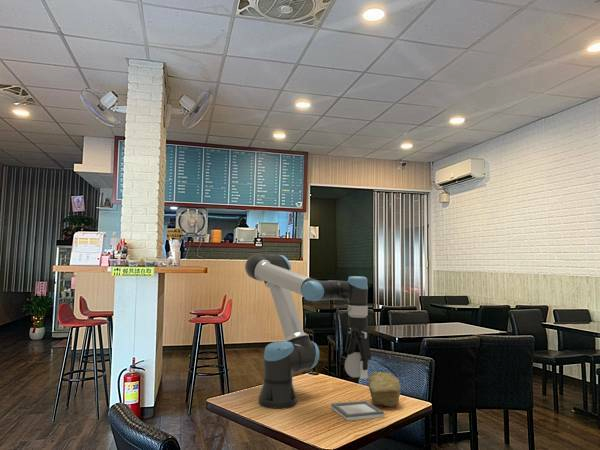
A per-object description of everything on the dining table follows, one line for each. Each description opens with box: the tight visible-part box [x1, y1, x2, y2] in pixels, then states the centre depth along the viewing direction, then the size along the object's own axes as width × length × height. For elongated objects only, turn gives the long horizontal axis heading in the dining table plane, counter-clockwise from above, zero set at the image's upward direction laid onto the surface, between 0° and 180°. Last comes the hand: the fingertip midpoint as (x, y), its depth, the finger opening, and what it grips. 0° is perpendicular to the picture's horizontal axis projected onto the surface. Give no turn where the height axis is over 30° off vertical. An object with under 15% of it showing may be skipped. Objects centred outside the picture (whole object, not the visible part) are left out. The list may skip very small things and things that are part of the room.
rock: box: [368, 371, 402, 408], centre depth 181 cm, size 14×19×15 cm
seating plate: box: [330, 400, 385, 422], centre depth 168 cm, size 15×15×2 cm
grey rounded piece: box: [344, 351, 370, 379], centre depth 169 cm, size 10×10×10 cm
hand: (357, 375), depth 169 cm, fingers closed on grey rounded piece, 10 cm apart
